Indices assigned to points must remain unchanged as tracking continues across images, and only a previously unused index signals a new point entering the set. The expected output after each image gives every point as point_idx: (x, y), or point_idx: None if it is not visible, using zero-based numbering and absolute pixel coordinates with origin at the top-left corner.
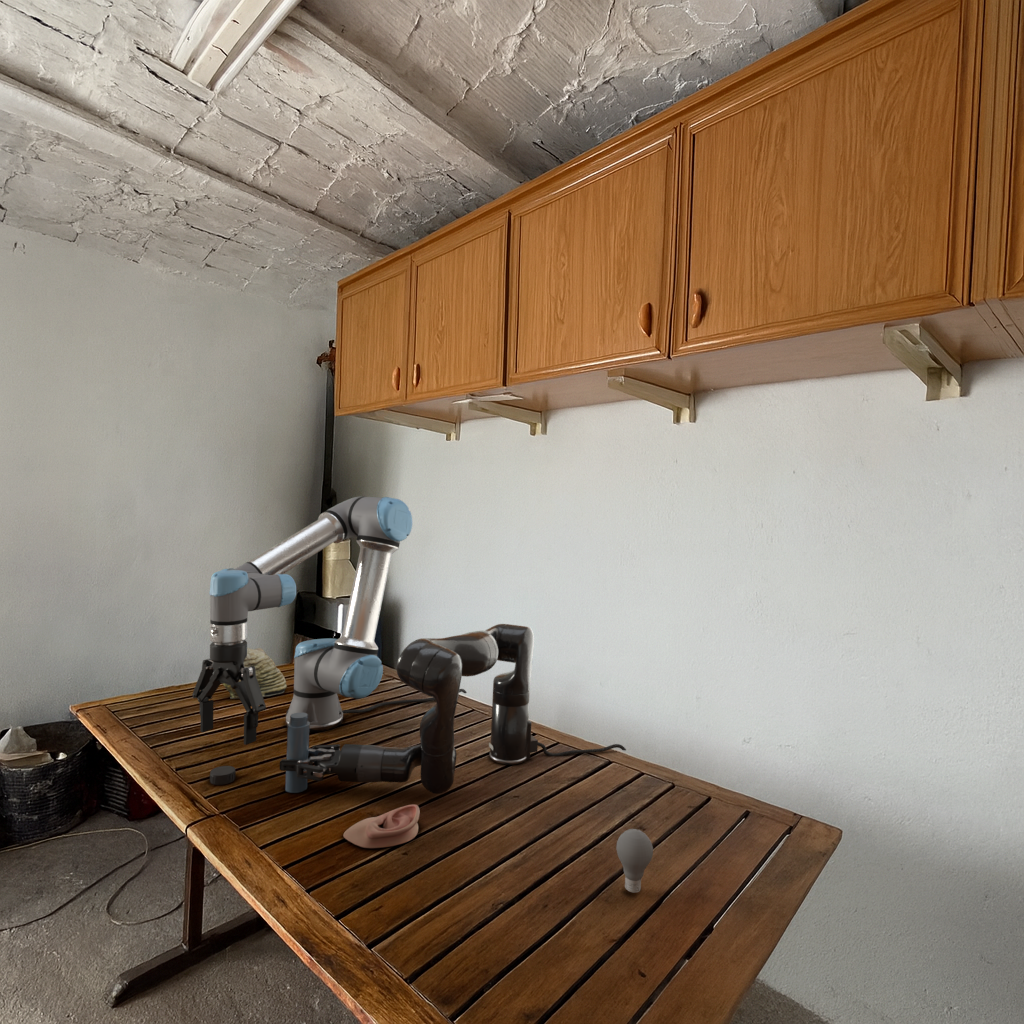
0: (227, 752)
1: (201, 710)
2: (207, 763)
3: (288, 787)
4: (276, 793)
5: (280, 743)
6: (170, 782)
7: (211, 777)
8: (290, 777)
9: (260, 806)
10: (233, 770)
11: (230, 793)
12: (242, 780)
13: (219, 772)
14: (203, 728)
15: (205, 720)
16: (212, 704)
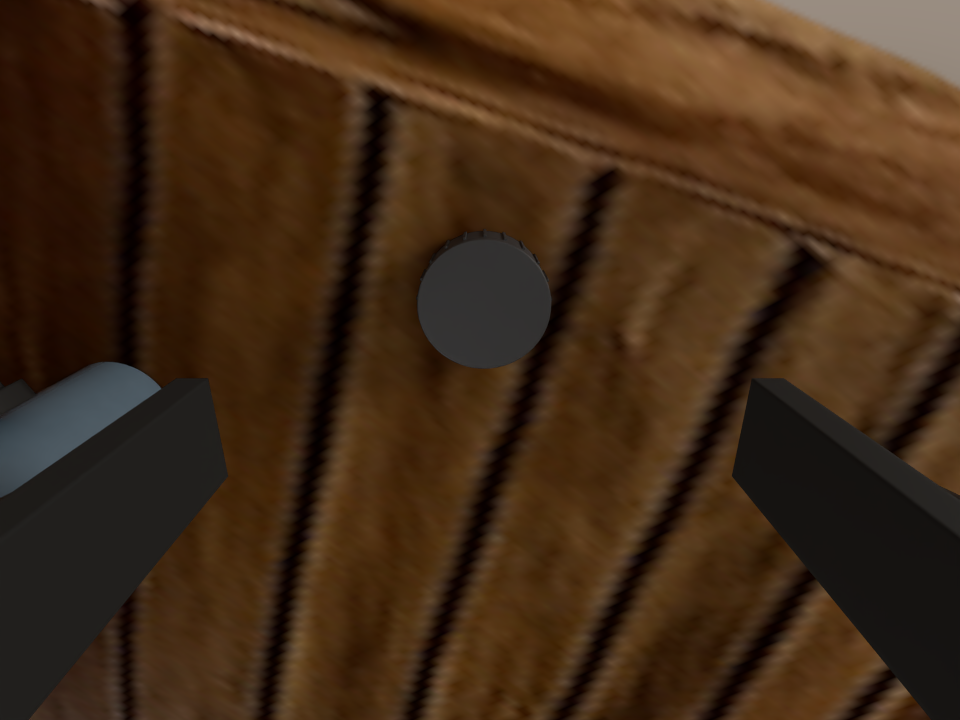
0: (715, 507)
1: (954, 510)
2: (710, 383)
3: (91, 370)
4: (140, 326)
5: (571, 659)
6: (714, 120)
7: (499, 237)
8: (37, 395)
9: (62, 184)
10: (434, 337)
11: (316, 206)
12: (397, 340)
13: (478, 279)
14: (770, 400)
15: (810, 460)
16: (909, 676)
